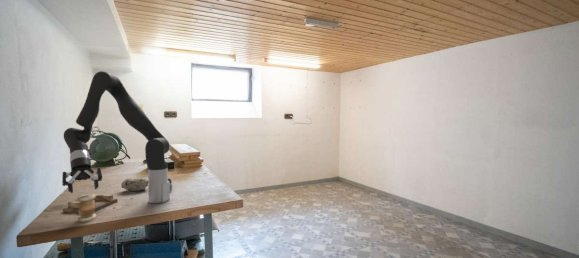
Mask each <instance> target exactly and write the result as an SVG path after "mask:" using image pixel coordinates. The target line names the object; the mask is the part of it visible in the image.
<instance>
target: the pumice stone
mask: <svg viewBox="0 0 579 258" xmlns="http://www.w3.org/2000/svg"><path fill="white" fill-rule="evenodd" d="M120 185H121V186H120V187H121V189H124V190H126V191H128V192H140V191H143V190H145V189H146V188H147V187H148V178H126V179H124V180H123V181H122V182H121V184H120Z"/></svg>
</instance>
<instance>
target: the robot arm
mask: <svg viewBox="0 0 579 258" xmlns="http://www.w3.org/2000/svg"><path fill="white" fill-rule="evenodd" d="M106 91H107V92H108V93H109V94H110V95H111V97H112V98H113V99H114V100H115V101H116V103H117V107H118V111H119V113H120V115H121V117H122V118H123V119H124V120H125V121H126V123H127V124H128V125H129V126H130V127H132V128H133V129H134V130H136V131H137V132H139V133H140V134H142V136H144V137H145V139H146V140H147V142H146V143H145V148H144V152H145V154H144V155H145V163H146V166H147V180H148V186H147V187H148V189H147V193H148V203H149V204H161V203H162V204H164V203H165V202H167V201H168V200H170V199H171V191H170V182H168V178H169V175H168V173H169V171H168V170H169V168H168V167H169V166H168V164H169V163H168V162H167V161H166V160H165V154H167V153H168V152H169V151H170V146H171V145H170V143H169V140H168V139H167V138H166V137H165V136H164V135H163V134H162V133H161V132H160V131H159V130H158V129H157V128H156V127H155V125H154V124H153V122H152V121H151V119H150V118H149V117H148V116H147V114H145V112H144V111H143V109H142V108H141V107H140V106H139V104H138V103H137V102H136V101H135V99H134V98H133V97H132V96H131V94H129V92H128V91H127V89H126V87H125V86H124V84H123V82H122V81H121V80H120V78H119V77H118V76H117V75H115V74H113V73H110V72H106V71H104V70H102V71H101V70H100V71H98V72H96V73H95V74H94V75H93V76H92V79H91V82H90V85H89V89H88V93H87V96H86V99H85V102H84V104H83V106H82V108H81V110H80V112H79V114H78V116H77V117H76V120H75V123H76V124H77V125H78V126H81V127H82V128H83V129H80V128H76V127H68V128H67V129H66V130H64V132H63V140H64V142H65V144H66V146H67V147H68V149H69V154H70V155H69V156H70V157H69V160H70V161H69V163H70V172H66V171H63V172H62V181H61V182H62V183H61V185H62V186H63V187H65V186H66V187H67V191H68V193H70V194H73V192H74V189H73V185H74V184H75V183H76V182H77V181H86V180H89V181H92V182H93V185H94V186H93V187H94V190H97V189H98V188H99V182H101V181H103V175H102V170H101V167H100V168H99V167H97V169H93V168H92V160H91V156H90V152H89V146H88V144H87V143H89V142H90V139H91V137H92V129H93V125H94V124H95V122H96V119H97V117H98V116H99V111H100V102H101V99H102V97H103V94H104V93H105V92H106ZM94 173H95V174H94ZM95 175H96V176H97V177H96V176H95ZM70 176H71V178H70V179H69V180H68V181H67V179H68V178H69V177H70Z"/></svg>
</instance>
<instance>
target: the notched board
mask: <svg viewBox="0 0 579 258" xmlns="http://www.w3.org/2000/svg"><path fill="white" fill-rule="evenodd" d="M94 194H95V196H96V198H95V199H93V200H94V201H95V212H97V211H100V210H102V209H105V208H106V207H108V206H111V205H113V204H115V203H117V202H118V201H119V200H118V198H114V195H113V194H112V195H111V194H97V193H94ZM79 202H81V201H77V198H76V199H72V200H70V201H67V206H66V207H64V208H62V212H63V213H76V214H77V213H78V214H79Z"/></svg>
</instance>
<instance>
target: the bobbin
mask: <svg viewBox="0 0 579 258" xmlns="http://www.w3.org/2000/svg"><path fill="white" fill-rule="evenodd" d="M95 194H96V193H87V194H83V195H79V196H77V198H76V199H77V201H81V202H79V213H78V217H77V222H79V223H85V222H86V223H87V222H90V221H93V220H95V219H97V213H95V212H96V211H95V201H94V200H93V199H95V198H96V196H95Z"/></svg>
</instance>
